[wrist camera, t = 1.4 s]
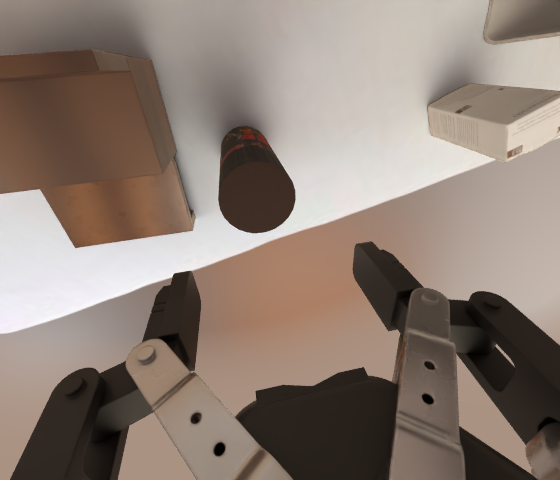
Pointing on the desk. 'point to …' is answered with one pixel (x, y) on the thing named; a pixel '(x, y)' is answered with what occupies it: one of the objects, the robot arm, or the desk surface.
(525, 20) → the beige hollow piece
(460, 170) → the desk surface
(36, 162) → the step shelf
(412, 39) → the desk surface
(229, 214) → the deodorant
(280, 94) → the desk surface
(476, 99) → the cosmetic box
